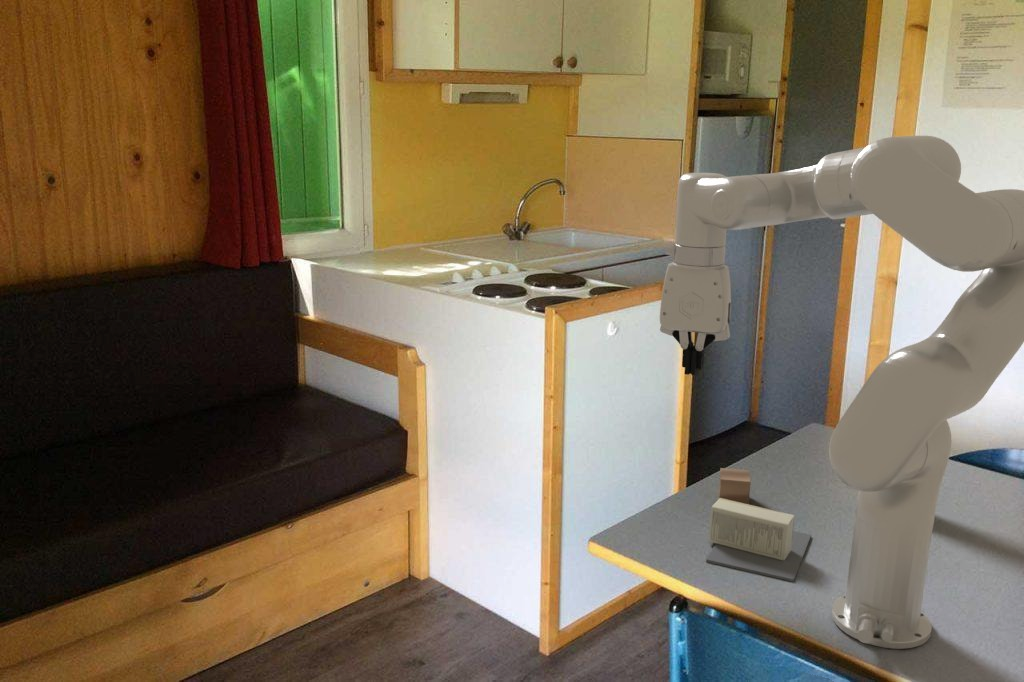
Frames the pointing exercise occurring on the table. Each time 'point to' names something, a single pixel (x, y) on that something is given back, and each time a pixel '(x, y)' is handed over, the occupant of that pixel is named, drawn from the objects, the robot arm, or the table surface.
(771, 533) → the skincare box
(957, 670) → the table surface
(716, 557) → the mat
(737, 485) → the walnut block
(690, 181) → the robot arm
